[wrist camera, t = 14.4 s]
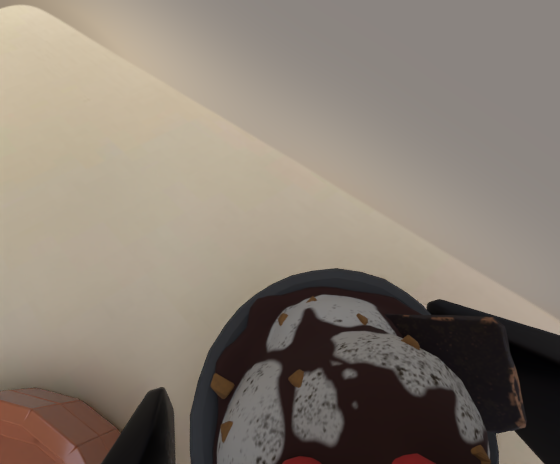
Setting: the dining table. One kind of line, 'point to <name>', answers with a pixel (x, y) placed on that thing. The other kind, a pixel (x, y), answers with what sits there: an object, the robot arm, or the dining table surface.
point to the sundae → (353, 379)
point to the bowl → (51, 429)
